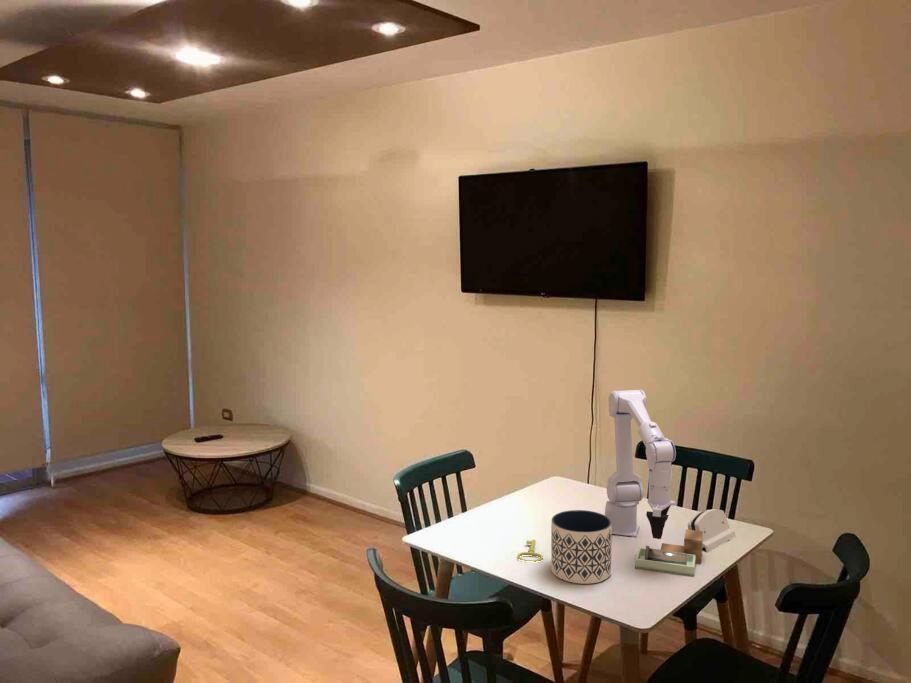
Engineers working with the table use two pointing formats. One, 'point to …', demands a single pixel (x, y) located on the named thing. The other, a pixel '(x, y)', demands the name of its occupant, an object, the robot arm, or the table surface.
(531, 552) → the key
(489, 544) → the table surface
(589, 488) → the table surface
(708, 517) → the white curved plastic device
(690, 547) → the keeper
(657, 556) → the pin
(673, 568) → the tray
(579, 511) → the planter
